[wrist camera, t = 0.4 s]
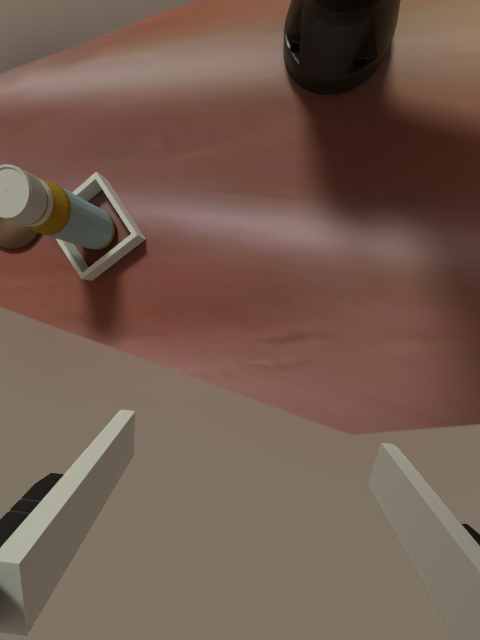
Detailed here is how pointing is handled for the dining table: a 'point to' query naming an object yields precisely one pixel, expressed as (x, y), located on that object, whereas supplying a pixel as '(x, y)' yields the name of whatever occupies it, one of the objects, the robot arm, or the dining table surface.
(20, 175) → the bottle
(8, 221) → the v block
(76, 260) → the grey frame
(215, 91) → the dining table surface
